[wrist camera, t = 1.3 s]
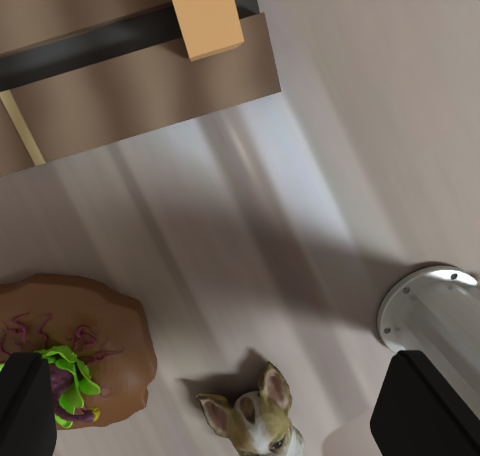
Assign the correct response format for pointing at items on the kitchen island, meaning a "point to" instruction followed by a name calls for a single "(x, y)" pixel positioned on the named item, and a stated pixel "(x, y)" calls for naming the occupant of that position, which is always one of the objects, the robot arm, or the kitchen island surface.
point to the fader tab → (208, 26)
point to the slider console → (113, 74)
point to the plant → (81, 345)
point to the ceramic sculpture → (256, 418)
